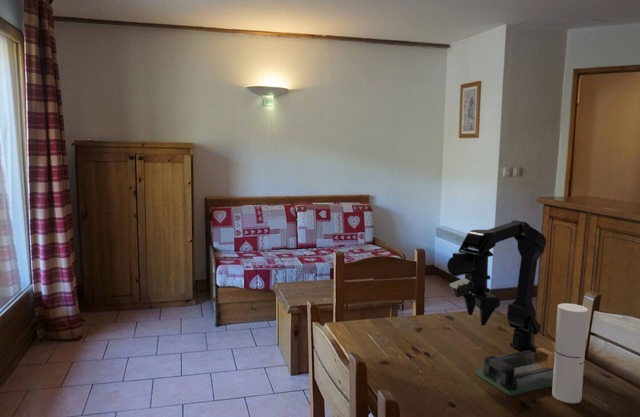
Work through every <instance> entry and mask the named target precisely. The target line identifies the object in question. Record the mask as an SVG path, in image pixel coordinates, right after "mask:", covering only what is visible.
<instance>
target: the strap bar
mask: <svg viewBox="0 0 640 417" xmlns="http://www.w3.org/2000/svg"><path fill="white" fill-rule="evenodd" d="M554 355H555V352H553V351H551V350H548V349H545V348H544V347H538V348H537V349H535V356H534V360H535V363H536V364H532V365H527V366H522V367H518V368H514V376H515V375H519V374H524V373H528V372H533V371H537V370H542V369H546V368H551V367H554Z"/></svg>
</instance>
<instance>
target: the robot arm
mask: <svg viewBox="0 0 640 417" xmlns="http://www.w3.org/2000/svg"><path fill="white" fill-rule="evenodd" d="M511 238H514V240H515V241H516V242H517V250H518V253H519V255H520V257H521V258H520V264H519V272H518V278H517V279H518V281H517V289H516V296H515V299H514V301H513V302H512V303H508V305H507V313H506V316H507V320H508V325H509V328H513V333H512V342H511V343H509V345H510V346H512V347H513V348H515V349H517V350H520V352H523V351H528V350H530V351H534V350H535V351H536V349H537V348H539V347H538V346H535V339H536V338H535V337H536V335H538V334H539V333H540V332H541V328H542V326H541V324H540V322H539V321H538V320H537V318H536V314H537V313H536V308H535V306H534V305H533V294H534V288H535V280H536V273H537V265H538V260H539V259H540V257H541V256H542V255H543V254H544V252H545V248H546V245H547V238H546V237H545V235H544V233H541V232H540V231H539V230H538V229H535V228H534V227H532V226H531V225H530V224H529V223H527V222H526V221H522V220H516V219H515V220H511V221H510V222H508V223H504V224H501V225H499V226H495V227H492V228H489V229H471V230H469V231H467V234H466V235H465V238H463V239H464V240H463V241H462V244H461V245H460V247H459V248H458V252H452V256H451V257H449V259H448V261H447V265H446V266H447V270H448V273H449V274H450V275H452V276H453V277H459V276H464V277H463V278H462V279H459V280H456V281H454V282H451V283H449V284H448V285H449V289H450V293H451V294H452V295H453V296H455V297H456V298H461V297H462V298H463V300H464V303H465V307H466V311H467V315H468V316H473V314H474V311H475V307H477V309H479V310H478V311H479V321H480V325H481V326H483V327H484V326H486V324H487V322H488V321H489V320H490V318H491V316H492V314H493V313H494V312H495V310H496V309H498V308H499V307H500V306H501V298H499V296H497V295H495V294H494V293H490V292H491V291H490V290H491V289H490V288H488V280H491V275H489V270H488V269H489V257H493V256H494V254H493V253H492V251H490V250H492V249H494V248H495V247H496V245H497V243H499V242H503V241H506V240H508V239H511Z"/></svg>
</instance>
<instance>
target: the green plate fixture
mask: <svg viewBox="0 0 640 417" xmlns="http://www.w3.org/2000/svg"><path fill="white" fill-rule="evenodd" d="M535 356H536V352H534V351H532V350H528V351H518V352H513V353H509V354H503V355H500V356H494V355H492V356H486V357H484V359H483V367H482V368H480V369H475V371H474V374H475V375H476V376H477V377H479V378H480V379H483V380H484V381H485V382H487V383H489V384H490V385H492V386H493V387H495V388H496V389H498V390H500V391H501V392H502V393H504V394H506V395H507V396H515V395H520V394H524V393H528V392H532V391H536V390H540V389H544V388H548V387H552V386H553V371H554V366H553V367H551V368H546V369H542V370H537V371H533V372H528V373H524V374H519V375H515V376H514V368H518V367H522V366H527V365H532V364H536V363H535Z"/></svg>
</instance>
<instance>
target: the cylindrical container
mask: <svg viewBox="0 0 640 417" xmlns="http://www.w3.org/2000/svg"><path fill="white" fill-rule="evenodd" d="M588 315H589V309H588V308H587V307H586V306H583V305H579V304H576V303H562V302H561V303H559V304H557V310H556V329H555V342H554V343H555V344H554V358H553V367H554V371H553V386H551V387H552V390H551V394H552V396H553V397H554V398H555V399H556V400H558V401H560V402H563V403H568V404H577V403H581V401H582V398H583V397H582V396H583V395H582V393H583V385H584V384H583V382H584V381H583V380H584V369H585V353H586V340H587V329H588Z"/></svg>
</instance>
